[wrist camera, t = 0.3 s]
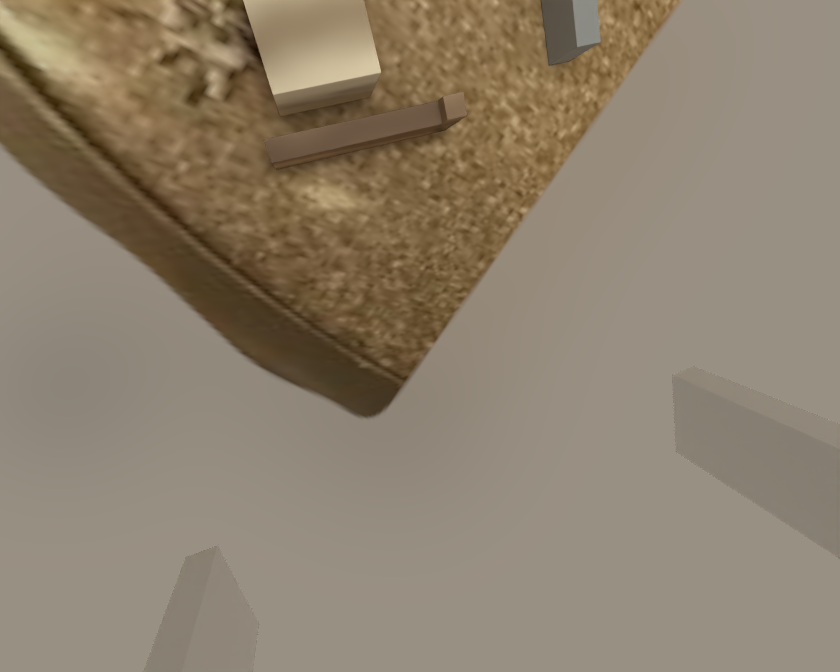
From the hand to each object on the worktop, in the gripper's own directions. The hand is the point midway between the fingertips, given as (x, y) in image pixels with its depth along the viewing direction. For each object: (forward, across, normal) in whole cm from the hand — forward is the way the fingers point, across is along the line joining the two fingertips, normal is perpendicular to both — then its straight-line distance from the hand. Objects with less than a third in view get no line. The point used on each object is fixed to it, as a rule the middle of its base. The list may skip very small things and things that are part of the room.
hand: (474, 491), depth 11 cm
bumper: (+27, +22, +19) cm, 39 cm away
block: (+27, +2, +19) cm, 33 cm away
